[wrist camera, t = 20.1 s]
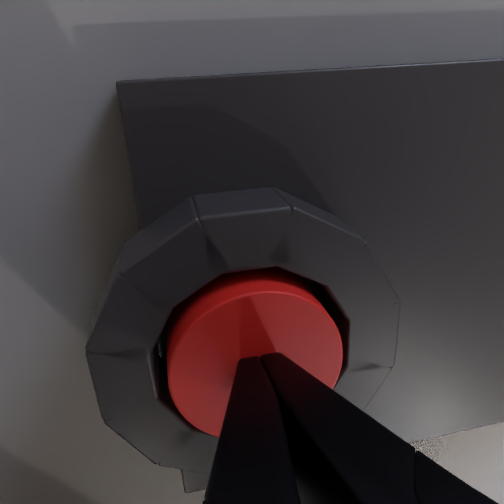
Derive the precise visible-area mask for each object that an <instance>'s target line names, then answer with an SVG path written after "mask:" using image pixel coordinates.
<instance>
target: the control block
mask: <svg viewBox="0 0 504 504" xmlns="http://www.w3.org/2000/svg"><path fill="white" fill-rule="evenodd" d="M116 88H117V94H118V100H119V106H120V111H121V117H122V123H123V129H124V135H125V141H126V147H127V153H128V159H129V165H130V171H131V177H132V183H133V188H134V194H135V200H136V206H137V212H138V218H139V224H140V230H141V231H139V232H138V233H137V234H135V235H134V236H132V237H131V238H130V239H128V240H127V241H126V242H125V244H124V245H123V246H122V247H121V250H120V252H119V254H118V257H117V259H116V261H115V264H114V266H113V269H112V271H111V273H110V276H109V278H108V280H107V283H106V285H105V288H104V290H103V292H102V295H101V297H100V299H99V302H98V304H97V307H96V309H95V313H94V317H93V320H92V324H91V328H90V332H89V336H88V339H87V343H86V347H85V348H86V353H85V354H86V358H87V362H88V366H89V370H90V374H91V378H92V382H93V386H94V390H95V393H96V397H97V401H98V405H99V409H100V413H101V416H102V418H103V420H104V423H105V424H106V425H107V426H108V427H110V428H111V429H112V430H113V431H115V432H116V433H117V434H118V435H120V436H121V437H122V438H123V439H125V440H126V441H127V442H128V443H129V444H131V445H132V446H133V447H134V448H136V449H137V450H138V451H139V452H141V453H142V454H143V455H144V456H145V457H147V458H148V459H149V460H150V461H152V462H153V463H154V464H158V465H159V466H164V467H169V468H175V469H180V470H181V473H182V479H183V485H184V491H185V493H191V492H195V491H200V490H204V489H207V485H208V481H209V477H210V473H211V469H212V465H213V461H214V457H215V453H216V449H217V445H218V441H219V437H217V436H214V435H211V434H208V433H206V432H204V431H202V430H200V429H198V428H197V427H195V426H194V425H192V424H191V423H190V422H189V421H187V420H186V419H185V418H184V416H183V415H182V414H181V413H180V412H179V410H178V409H177V407H176V406H175V404H174V402H173V400H172V397H171V395H170V391H169V387H168V373H167V346H166V323H167V320H168V318H169V315H170V313H171V311H172V309H173V308H174V307H175V306H176V305H178V304H179V303H181V302H182V301H184V300H185V299H186V298H188V297H189V296H191V295H192V294H194V293H195V292H197V291H198V290H199V289H201V288H202V287H204V286H205V285H207V284H208V283H209V282H211V281H212V280H214V279H215V278H217V277H218V276H219V275H221V274H226V273H233V272H240V271H247V270H255V269H262V268H269V267H276V266H277V267H279V268H282V269H284V270H287V271H289V272H292V273H294V274H297V275H299V276H301V278H302V279H303V280H304V281H305V283H306V284H307V285H308V287H309V288H310V289H311V291H312V292H313V293H314V295H315V296H316V297H317V299H318V300H319V302H320V303H321V304H322V306H323V307H324V308H325V310H326V311H327V313H328V314H329V315H330V317H331V318H332V319H333V321H334V323H335V325H336V326H337V328H338V331H339V334H340V336H341V341H342V348H343V358H342V366H341V370H340V374H339V377H338V379H337V382H336V384H335V386H334V387H333V390H334V391H335V392H337V393H338V394H340V395H341V396H342V397H344V398H345V399H347V400H348V401H349V402H351V403H352V404H354V405H355V406H356V407H358V408H359V409H361V410H362V411H364V412H365V413H366V414H368V415H369V416H371V417H372V418H373V419H375V420H376V421H378V422H379V423H380V424H382V425H383V426H385V427H386V428H387V429H389V430H390V431H392V432H393V433H394V434H396V435H397V436H399V437H400V438H401V439H403V440H404V441H406V442H407V443H412V442H416V441H420V440H425V439H429V438H434V437H438V436H443V435H447V434H451V433H456V432H460V431H465V430H469V429H473V428H478V427H482V426H487V425H491V424H496V423H500V422H504V59H486V60H469V61H452V62H434V63H417V64H400V65H382V66H365V67H348V68H331V69H313V70H296V71H279V72H261V73H244V74H227V75H209V76H192V77H175V78H158V79H140V80H123V81H117V82H116ZM158 339H159V343H160V348H161V354H162V358H161V357H160V356H159V353H158V347H157V341H158Z"/></svg>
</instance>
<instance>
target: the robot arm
mask: <svg viewBox="0 0 504 504" xmlns="http://www.w3.org/2000/svg"><path fill="white" fill-rule="evenodd" d="M203 504H498V503H497V502H495V501H493V500H492V499H490V498H489V497H487V496H485V495H484V494H482V493H481V492H479V491H477V490H476V489H474V488H472V487H471V486H469V485H468V484H466V483H465V482H463V481H462V480H460V479H459V478H457V477H456V476H455V475H453V474H452V473H450V472H449V471H447V470H446V469H444V468H443V467H441V466H440V465H438V464H437V463H436V462H434V461H433V460H431V459H430V458H428V457H427V456H426V455H424V454H423V453H421V452H420V451H416V453H415V448H414V447H413V446H411V445H410V444H408V443H407V442H406V441H404V440H403V439H401V438H400V437H399V436H397V435H396V434H394V433H393V432H392V431H390V430H389V429H387V428H386V427H385V426H383V425H382V424H380V423H379V422H378V421H376V420H375V419H373V418H372V417H371V416H369V415H368V414H366V413H365V412H364V411H362V410H361V409H359V408H358V407H356V406H355V405H354V404H352V403H351V402H349V401H348V400H347V399H345V398H344V397H342V396H341V395H340V394H338V393H337V392H335V391H334V390H333V389H331V388H330V387H328V386H327V385H326V384H324V383H323V382H321V381H320V380H319V379H317V378H316V377H314V376H313V375H311V374H310V373H309V372H307V371H306V370H304V369H303V368H302V367H300V366H299V365H297V364H296V363H295V362H293V361H292V360H290V359H289V358H288V357H286V356H285V355H283V354H282V353H280V352H275V353H269V354H264V355H261V357H260V358H259V357H258V356H252V357H246V358H241V359H240V360H239V361H238V364H237V368H236V372H235V376H234V380H233V384H232V388H231V392H230V396H229V400H228V404H227V408H226V412H225V416H224V420H223V425H222V429H221V433H220V437H219V441H218V445H217V449H216V453H215V457H214V461H213V465H212V469H211V473H210V477H209V481H208V485H207V489H206V493H205V500H204V501H203Z"/></svg>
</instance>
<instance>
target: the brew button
mask: <svg viewBox="0 0 504 504" xmlns="http://www.w3.org/2000/svg"><path fill="white" fill-rule="evenodd" d="M166 346H167V373H168V387H169V391H170V395H171V397H172V400H173V402H174V404H175V406H176V407H177V409H178V410H179V412H180V413H181V414H182V415H183V416H184V418H185V419H186V420H187V421H189V422H190V423H191V424H192V425H194V426H195V427H197V428H198V429H200V430H202V431H204V432H206V433H208V434H211V435H214V436H217V437H220V433H221V429H222V425H223V420H224V416H225V412H226V408H227V404H228V400H229V396H230V392H231V388H232V384H233V380H234V376H235V372H236V368H237V364H238V361H239V360H240V359H241V358H246V357H252V356H258V357H259V358H260V357H261V355H264V354H269V353H275V352H280V353H282V354H283V355H285V356H286V357H288V358H289V359H290V360H292V361H293V362H295V363H296V364H297V365H299V366H300V367H302V368H303V369H304V370H306V371H307V372H309V373H310V374H311V375H313V376H314V377H316V378H317V379H319V380H320V381H321V382H323V383H324V384H326V385H327V386H328V387H330V388H331V389H333V387H334V386H335V384H336V382H337V379H338V377H339V374H340V370H341V366H342V358H343V348H342V341H341V336H340V334H339V331H338V328H337V326H336V325H335V323H334V321H333V319H332V318H331V317H330V315H329V314H328V313H327V311H326V310H325V308H324V307H323V306H322V304H321V303H320V302H319V300H318V299H317V297H316V296H315V295H314V293H313V292H312V291H311V289H310V288H309V287H308V285H307V284H306V283H305V281H304V280H303V279H302V278H301V276H299V275H297V274H294V273H292V272H289V271H287V270H284V269H282V268H279V267H277V266H276V267H269V268H262V269H255V270H247V271H240V272H233V273H226V274H221V275H219V276H218V277H217V278H215V279H214V280H212V281H211V282H209V283H208V284H207V285H205V286H204V287H202V288H201V289H199V290H198V291H197V292H195V293H194V294H192V295H191V296H189V297H188V298H186V299H185V300H184V301H182V302H181V303H179V304H178V305H176V306H175V307H174V308H173V309H172V311H171V313H170V315H169V318H168V320H167V323H166Z"/></svg>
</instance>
